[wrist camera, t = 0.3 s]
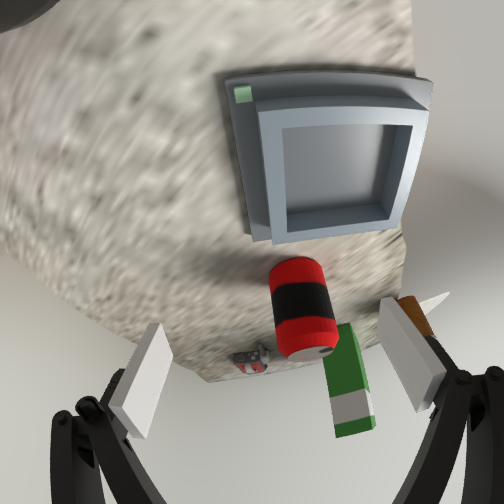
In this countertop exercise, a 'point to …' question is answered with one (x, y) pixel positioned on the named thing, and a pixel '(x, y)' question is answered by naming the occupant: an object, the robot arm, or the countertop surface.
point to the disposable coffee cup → (416, 315)
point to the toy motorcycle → (252, 361)
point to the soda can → (302, 310)
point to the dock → (326, 149)
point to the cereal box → (348, 386)
